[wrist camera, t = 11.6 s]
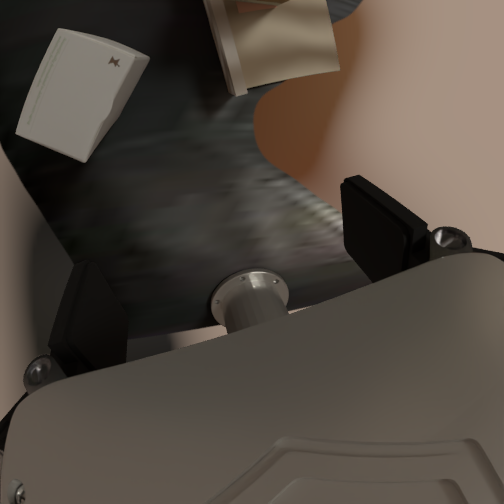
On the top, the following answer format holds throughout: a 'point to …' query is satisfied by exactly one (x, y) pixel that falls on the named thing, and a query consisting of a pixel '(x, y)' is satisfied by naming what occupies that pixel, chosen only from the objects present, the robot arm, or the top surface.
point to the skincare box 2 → (264, 1)
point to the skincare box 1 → (79, 92)
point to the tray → (271, 41)
